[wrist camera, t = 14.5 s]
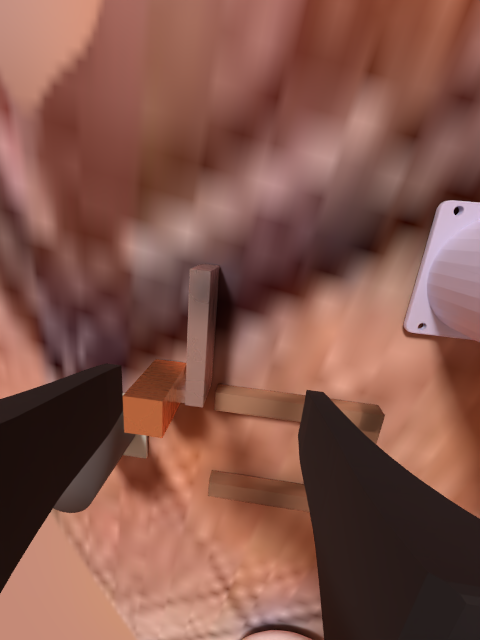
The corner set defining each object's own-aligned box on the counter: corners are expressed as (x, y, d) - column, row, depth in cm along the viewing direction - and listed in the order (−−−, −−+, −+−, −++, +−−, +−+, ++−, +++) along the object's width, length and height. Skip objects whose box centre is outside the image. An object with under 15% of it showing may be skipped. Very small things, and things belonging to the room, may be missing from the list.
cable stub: (143, 418, 22) (100, 481, 17) (127, 452, 24) (82, 521, 18) (98, 396, 22) (39, 452, 16) (84, 431, 23) (25, 495, 18)
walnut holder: (378, 405, 20) (384, 415, 19) (349, 505, 23) (353, 519, 22) (218, 384, 21) (215, 392, 20) (210, 483, 24) (207, 496, 23)
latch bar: (219, 265, 18) (202, 276, 13) (210, 396, 21) (194, 442, 17) (155, 258, 18) (116, 267, 14) (156, 388, 22) (124, 432, 17)
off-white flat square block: (146, 396, 22) (145, 398, 22) (147, 455, 24) (146, 458, 24) (80, 387, 22) (78, 389, 22) (86, 446, 24) (84, 449, 24)
